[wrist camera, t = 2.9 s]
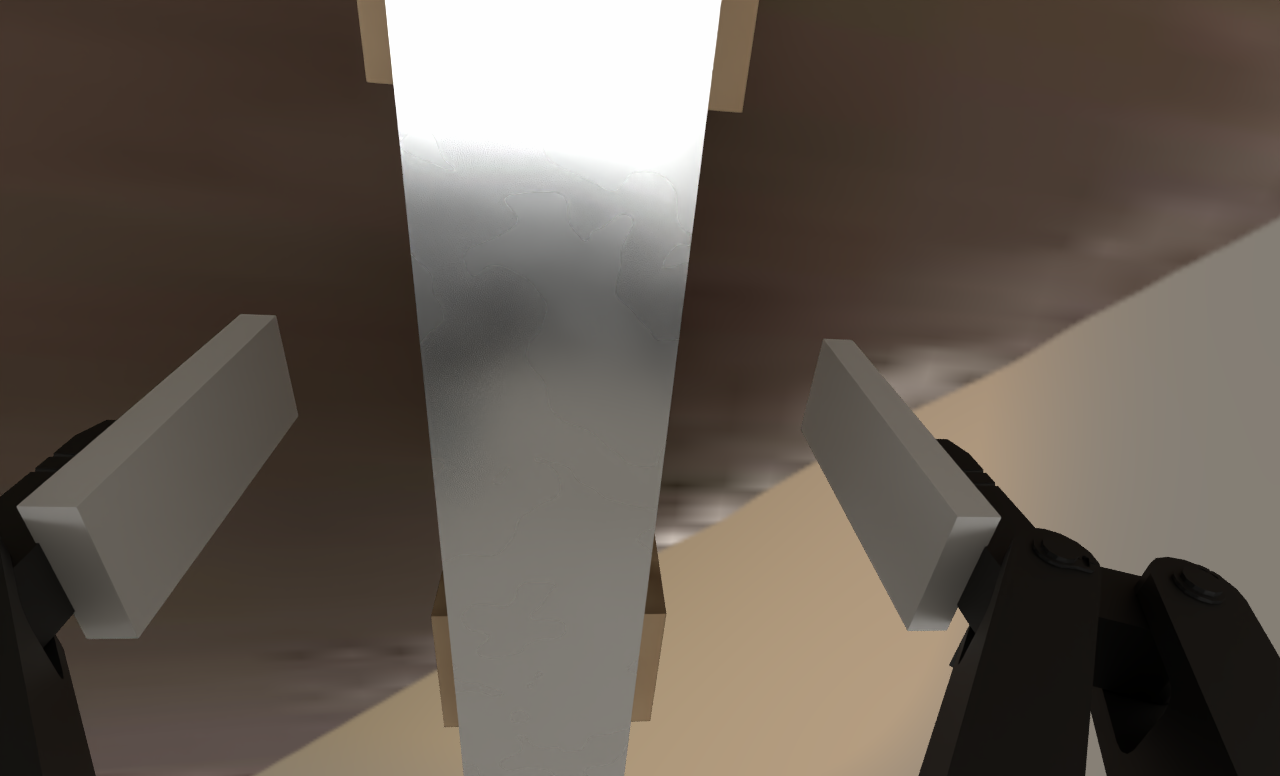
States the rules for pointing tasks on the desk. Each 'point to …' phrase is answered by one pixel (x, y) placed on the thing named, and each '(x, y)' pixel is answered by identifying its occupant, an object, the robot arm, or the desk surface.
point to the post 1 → (727, 65)
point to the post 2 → (646, 662)
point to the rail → (549, 342)
